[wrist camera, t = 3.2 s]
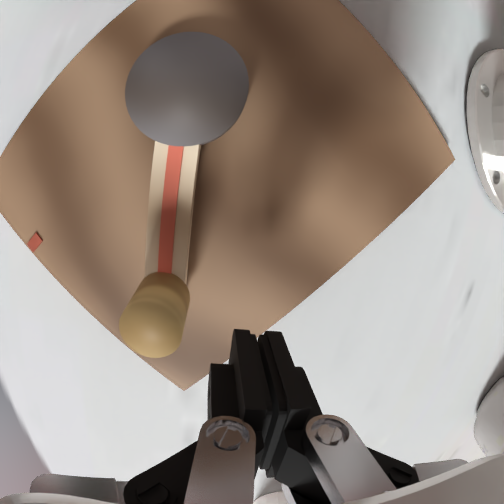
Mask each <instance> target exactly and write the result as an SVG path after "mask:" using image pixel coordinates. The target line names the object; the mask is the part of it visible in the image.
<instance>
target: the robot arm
mask: <svg viewBox="0 0 504 504" xmlns="http://www.w3.org/2000/svg"><path fill="white" fill-rule="evenodd" d="M467 123H468V134H469V139H470V145H471V151H472V155H473V159H474V162H475V166H476V170H477V172H478V175H479V178H480V180H481V183H482V185H483V188H484V189H485V191H486V193H487V195H488V197H489V198H490V200H491V201H492V203H493V204H494V205H495V206H496V208H497V209H498V210H500V211H501V212H502V213H503V214H504V48H502V49H495V50H491V51H488V52H486V53H484V54H483V55H482V56H481V57H480V58H478V60H477V61H476V63H475V65H474V67H473V68H472V72H471V75H470V79H469V83H468V91H467ZM258 467H260V469H265V471H266V476H267V478H269V477H275V479H276V480H278V481H279V482H281V483H282V490H283V493H284V495H285V498H286V500H287V502H288V504H504V454H497V455H492V456H488V457H484V458H480V459H477V460H474V461H472V462H469V463H468V462H467V461H465V460H462V459H453V460H446V461H439V462H430V463H421V464H414V465H413V467H411V466H410V465H408V464H406V463H404V462H401V461H399V460H396V459H394V458H391V457H389V456H387V455H384V454H382V453H379V452H377V451H375V450H372V449H370V448H368V447H366V446H365V444H364V443H363V442H362V440H361V439H360V438H359V436H358V435H357V433H356V432H355V430H354V429H353V428H352V426H351V425H350V424H349V423H348V422H347V421H345V420H344V419H342V418H340V417H337V416H334V415H323V414H322V412H321V409H320V407H319V405H318V402H317V400H316V398H315V395H314V393H313V390H312V388H311V386H310V383H309V381H308V378H307V376H306V374H305V371H304V369H303V368H302V367H295V366H294V363H293V361H292V358H291V356H290V353H289V350H288V348H287V345H286V343H285V340H284V337H283V335H282V333H281V332H277V331H265V333H264V335H259V337H258V342H257V339H256V335H255V334H251V333H250V330H244V329H234V330H233V335H232V342H231V350H230V357H229V364H216V363H211V364H210V371H209V382H208V420H207V421H206V422H205V423H204V424H203V426H202V428H201V430H200V434H199V438H198V440H197V441H196V442H194V443H193V444H191V445H189V446H188V447H186V448H185V449H183V450H181V451H180V452H178V453H176V454H175V455H173V456H171V457H170V458H168V459H166V460H164V461H163V462H161V463H159V464H157V465H156V466H154V467H152V468H150V469H148V470H147V471H145V472H143V473H141V474H139V475H137V476H135V477H134V478H132V479H131V480H130V481H116V480H115V478H91V477H78V476H67V475H58V474H42V475H40V476H37V477H36V478H35V479H34V480H33V481H32V484H31V487H30V493H20V494H12V495H8V496H5V497H3V498H1V499H0V504H253V497H254V479H255V476H256V473H257V470H258Z"/></svg>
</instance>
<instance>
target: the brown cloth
mask: <svg viewBox="0 0 504 504" xmlns="http://www.w3.org/2000/svg"><path fill="white" fill-rule="evenodd" d="M181 32H203V33H207V34H211V35H214V36H216V37H219V38H221V39H223V40H224V41H226V42H227V43H229V44H230V45H231V46H232V47H233V48H234V49H235V50H236V51H237V52H238V53H239V55H240V56H241V58H242V59H243V61H244V63H245V66H246V69H247V72H248V77H249V90H248V96H247V100H246V103H245V106H244V108H243V111H242V113H241V115H240V117H239V118H238V120H237V121H236V123H235V124H234V125H233V126H232V127H231V128H230V129H229V130H228V131H227V132H226V133H225V134H224V135H222V136H221V137H219V138H217V139H216V140H214V141H212V142H209V143H207V144H204V145H201V150H200V158H199V165H198V173H197V181H196V189H195V198H194V206H193V216H192V225H191V235H190V246H189V257H188V269H187V283H186V286H187V287H188V290H189V293H190V303H189V308H188V312H187V317H186V321H185V326H184V331H183V335H182V340H181V343H180V345H179V347H178V348H177V350H176V351H175V352H173V353H172V354H170V355H168V356H166V357H161V358H150V357H146V356H143V355H140V354H138V353H136V352H135V351H133V350H132V349H131V348H130V347H129V346H128V345H127V344H126V343H125V342H124V340H123V338H122V337H121V334H120V331H119V320H120V317H121V315H122V313H123V311H124V310H125V308H126V306H127V305H128V303H129V301H130V300H131V298H132V296H133V295H134V293H135V291H136V290H137V288H138V286H139V285H140V283H141V282H142V280H143V279H144V278H145V254H146V233H147V217H148V204H149V192H150V182H151V172H152V163H153V154H154V146H155V140H153V139H151V138H149V137H148V136H146V135H145V134H144V133H142V132H141V131H140V130H139V129H138V128H137V126H136V125H135V124H134V122H133V121H132V119H131V117H130V115H129V113H128V110H127V107H126V101H125V87H126V81H127V78H128V75H129V72H130V70H131V68H132V66H133V64H134V63H135V61H136V60H137V59H138V57H139V56H140V55H141V54H142V53H143V52H144V51H145V50H146V49H147V48H148V47H149V46H151V45H152V44H154V43H155V42H157V41H158V40H160V39H162V38H164V37H167V36H170V35H172V34H177V33H181ZM454 160H455V158H454V156H453V154H452V152H451V150H450V149H449V147H448V145H447V143H446V141H445V139H444V138H443V136H442V134H441V132H440V131H439V129H438V127H437V126H436V124H435V122H434V121H433V119H432V117H431V116H430V114H429V112H428V111H427V109H426V108H425V106H424V105H423V103H422V102H421V100H420V98H419V97H418V95H417V94H416V93H415V91H414V90H413V88H412V87H411V85H410V84H409V82H408V81H407V80H406V78H405V77H404V75H403V74H402V73H401V71H400V70H399V69H398V67H397V66H396V65H395V63H394V62H393V61H392V60H391V58H390V57H389V56H388V55H387V53H386V52H385V51H384V50H383V48H382V47H381V46H380V45H379V44H378V42H377V41H376V40H375V39H374V38H373V36H372V35H371V34H370V33H369V32H368V31H367V30H366V28H365V27H364V26H363V25H362V24H361V23H360V22H359V21H358V20H357V19H356V18H355V17H354V15H353V14H352V13H351V12H350V11H349V10H348V9H347V8H346V7H345V6H344V5H343V4H342V3H341V2H340V1H339V0H136V1H135V2H134V3H133V4H131V5H130V6H129V7H128V8H126V9H125V10H124V11H123V12H122V13H120V14H119V15H118V16H117V17H116V18H115V19H113V20H112V21H111V22H110V23H109V24H108V25H107V26H106V27H105V28H104V29H102V30H101V31H100V32H99V33H98V34H97V35H96V36H95V37H94V38H93V39H92V40H91V41H90V42H89V43H88V44H87V45H86V46H85V47H84V48H83V49H82V50H81V51H80V52H79V53H78V54H77V55H76V56H75V57H74V58H73V60H72V61H71V62H70V63H69V64H68V65H67V66H66V67H65V68H64V69H63V71H62V72H61V73H60V74H59V75H58V76H57V78H56V79H55V80H54V81H53V82H52V84H51V85H50V86H49V87H48V88H47V90H46V91H45V92H44V94H43V95H42V96H41V97H40V99H39V100H38V101H37V103H36V104H35V105H34V107H33V108H32V109H31V111H30V112H29V113H28V115H27V116H26V118H25V119H24V121H23V122H22V123H21V125H20V126H19V128H18V129H17V131H16V132H15V134H14V135H13V137H12V139H11V140H10V142H9V143H8V145H7V147H6V148H5V150H4V152H3V153H2V155H1V157H0V213H1V214H2V215H3V217H4V218H5V219H6V220H7V222H8V223H9V224H10V226H11V227H12V228H13V230H14V231H15V232H16V233H17V235H18V236H19V237H20V238H21V239H22V241H23V242H24V243H25V244H26V246H27V247H28V248H29V249H30V250H31V251H32V253H33V254H34V255H35V256H36V257H37V258H38V260H39V261H40V262H41V263H42V264H43V265H44V266H45V267H46V269H47V270H48V271H49V272H50V273H51V274H52V275H53V276H54V277H55V278H56V279H57V280H58V282H59V283H60V284H61V285H62V286H63V287H64V288H65V289H66V290H67V291H68V292H69V293H70V294H71V295H72V296H73V297H74V298H75V299H76V300H77V301H78V302H79V303H80V304H81V305H82V306H83V307H84V308H85V309H86V310H87V311H88V312H89V313H90V314H91V315H92V316H94V317H95V318H96V319H97V320H98V321H99V322H100V323H101V324H102V325H103V326H104V327H105V328H107V329H108V330H109V331H110V332H111V333H112V334H113V335H114V336H116V337H117V338H118V339H119V340H120V341H121V342H122V343H124V344H125V345H126V346H127V347H128V348H130V349H131V350H132V351H133V352H134V353H136V354H137V355H138V356H139V357H140V358H142V359H143V360H144V361H145V362H147V363H148V364H149V365H150V366H152V367H153V368H154V369H155V370H157V371H158V372H159V373H161V374H162V375H163V376H165V377H166V378H167V379H169V380H170V381H171V382H173V383H174V384H175V385H177V386H178V387H179V388H181V389H182V390H184V391H185V390H186V389H188V388H189V387H191V386H192V385H193V384H195V383H196V382H198V381H199V380H200V379H202V378H203V377H205V376H206V375H207V374H209V371H210V364H211V363H216V364H223V363H224V362H225V361H227V360H228V359H229V357H230V350H231V342H232V335H233V330H234V329H244V330H250V333H251V334H255V335H256V338H257V337H258V336H259V335H261V334H262V333H263V332H265V331H266V330H267V329H269V328H270V327H271V326H272V325H274V324H275V323H276V322H277V321H279V320H280V319H281V318H282V317H284V316H285V315H286V314H287V313H289V312H290V311H291V310H292V309H294V308H295V307H296V306H297V305H299V304H300V303H301V302H302V301H303V300H305V299H306V298H307V297H308V296H309V295H311V294H312V293H313V292H314V291H315V290H317V289H318V288H319V287H320V286H321V285H323V284H324V283H325V282H326V281H327V280H328V279H330V278H331V277H332V276H333V275H334V274H335V273H337V272H338V271H339V270H340V269H341V268H342V267H343V266H345V265H346V264H347V263H348V262H349V261H350V260H351V259H353V258H354V257H355V256H356V255H357V254H358V253H359V252H360V251H361V250H363V249H364V248H365V247H366V246H367V245H368V244H369V243H370V242H371V241H373V240H374V239H375V238H376V237H377V236H378V235H379V234H380V233H381V232H382V231H383V230H384V229H386V228H387V227H388V226H389V225H390V224H391V223H392V222H393V221H394V220H395V219H396V218H397V217H398V216H399V215H400V214H401V213H402V212H403V211H405V210H406V209H407V208H408V207H409V206H410V205H411V204H412V203H413V202H414V201H415V200H416V199H417V198H418V197H419V196H420V195H421V194H422V193H423V192H424V191H425V190H426V189H427V188H428V187H429V186H430V185H431V184H432V183H433V182H434V181H435V180H436V179H437V178H438V177H439V176H440V175H441V174H442V173H443V172H444V171H445V170H446V169H447V168H448V166H449V165H450V164H451V163H452V162H453V161H454Z"/></svg>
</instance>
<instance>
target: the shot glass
mask: <svg viewBox="0 0 504 504" xmlns="http://www.w3.org/2000/svg"><path fill="white" fill-rule="evenodd" d="M253 504H288V502H287V500H286V498H285V495H284V493H283V491H279V492H274V493H270V494H266V495H263V496H261V497H259V498H257V499H256V500H255V501H254V502H253Z"/></svg>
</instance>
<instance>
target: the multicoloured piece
mask: <svg viewBox="0 0 504 504" xmlns="http://www.w3.org/2000/svg"><path fill="white" fill-rule="evenodd" d="M248 90H249V77H248V72H247V69H246V66H245V63H244V61H243V59H242V58H241V56H240V55H239V53H238V52H237V51H236V50H235V49H234V48H233V47H232V46H231V45H230V44H229V43H227V42H226V41H224V40H223V39H221V38H219V37H216V36H214V35H211V34H207V33H203V32H181V33H177V34H172V35H170V36H167V37H164V38H162V39H160V40H158V41H157V42H155V43H154V44H152V45H151V46H149V47H148V48H147V49H146V50H145V51H144V52H143V53H142V54H141V55H140V56H139V57H138V59H137V60H136V61H135V63H134V64H133V66H132V68H131V70H130V72H129V75H128V78H127V81H126V87H125V101H126V107H127V110H128V113H129V115H130V117H131V119H132V121H133V122H134V124H135V125H136V126H137V128H138V129H139V130H140V131H141V132H142V133H144V134H145V135H146V136H148V137H149V138H151V139H153V140H155V146H154V154H153V163H152V172H151V182H150V192H149V204H148V217H147V233H146V254H145V278H144V279H143V280H142V282H141V283H140V285H139V286H138V288H137V290H136V291H135V293H134V295H133V296H132V298H131V300H130V301H129V303H128V305H127V306H126V308H125V310H124V311H123V313H122V315H121V317H120V320H119V331H120V334H121V337H122V338H123V340H124V342H125V343H126V344H127V345H128V346H129V347H130V348H131V349H132V350H133V351H135V352H136V353H138V354H140V355H143V356H146V357H150V358H161V357H166V356H168V355H170V354H172V353H173V352H175V351H176V350H177V348H178V347H179V345H180V343H181V340H182V335H183V331H184V326H185V321H186V317H187V312H188V308H189V303H190V293H189V290H188V287H187V286H186V283H187V269H188V257H189V246H190V235H191V225H192V216H193V206H194V198H195V189H196V181H197V173H198V165H199V158H200V150H201V145H204V144H207V143H209V142H212V141H214V140H216V139H217V138H219V137H221V136H222V135H224V134H225V133H226V132H227V131H228V130H229V129H230V128H231V127H232V126H233V125H234V124H235V123H236V121H237V120H238V118H239V117H240V115H241V113H242V111H243V108H244V106H245V103H246V100H247V96H248Z"/></svg>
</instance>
